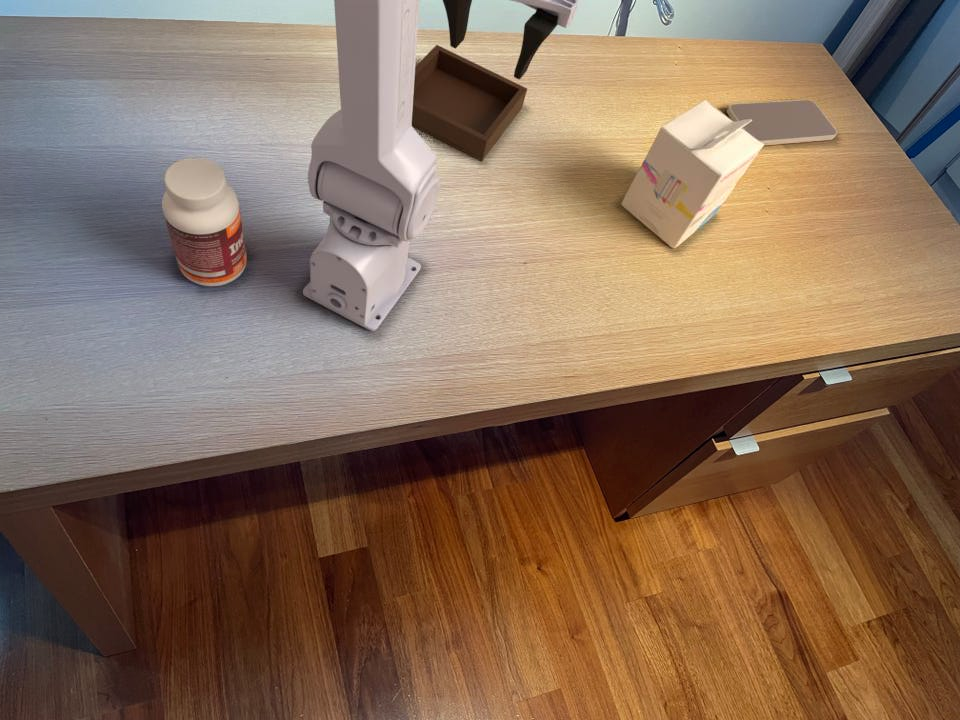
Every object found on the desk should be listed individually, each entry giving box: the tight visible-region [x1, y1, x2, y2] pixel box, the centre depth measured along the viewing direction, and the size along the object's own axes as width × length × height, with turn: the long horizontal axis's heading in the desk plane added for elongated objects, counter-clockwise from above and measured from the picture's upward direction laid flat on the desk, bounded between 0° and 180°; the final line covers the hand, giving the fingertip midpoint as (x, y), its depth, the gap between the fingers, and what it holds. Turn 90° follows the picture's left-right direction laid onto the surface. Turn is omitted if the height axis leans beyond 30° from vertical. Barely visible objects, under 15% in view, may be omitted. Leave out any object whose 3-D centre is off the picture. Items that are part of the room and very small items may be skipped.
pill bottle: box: [161, 157, 248, 287], centre depth 60 cm, size 6×6×11 cm
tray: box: [412, 44, 528, 162], centre depth 81 cm, size 12×13×3 cm
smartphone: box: [726, 99, 838, 146], centre depth 93 cm, size 7×1×15 cm
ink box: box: [620, 99, 765, 249], centre depth 75 cm, size 9×8×13 cm
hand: (488, 58), depth 73 cm, fingers open, 7 cm apart
